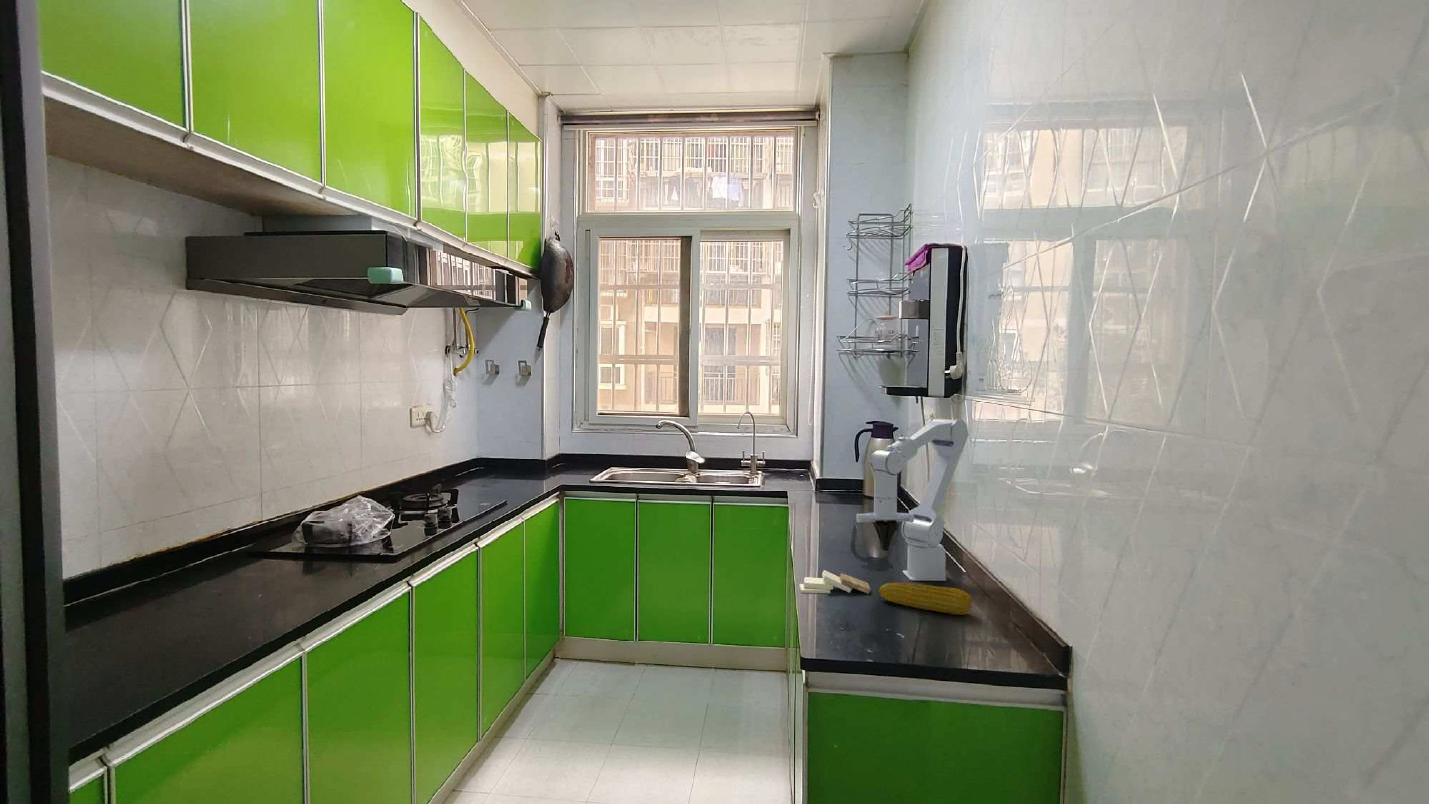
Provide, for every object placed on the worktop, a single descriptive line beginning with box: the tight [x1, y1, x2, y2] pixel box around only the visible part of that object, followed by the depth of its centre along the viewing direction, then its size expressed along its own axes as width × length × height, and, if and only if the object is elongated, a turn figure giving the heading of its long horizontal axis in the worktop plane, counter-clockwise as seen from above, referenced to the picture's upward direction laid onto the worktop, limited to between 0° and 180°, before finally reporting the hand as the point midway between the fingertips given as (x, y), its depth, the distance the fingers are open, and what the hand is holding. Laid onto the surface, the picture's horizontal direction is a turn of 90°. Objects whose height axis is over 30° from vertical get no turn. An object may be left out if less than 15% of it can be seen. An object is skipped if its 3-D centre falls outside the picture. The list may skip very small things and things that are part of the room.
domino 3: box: [821, 569, 853, 594], centre depth 169 cm, size 1×5×7 cm
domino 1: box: [803, 576, 834, 591], centre depth 170 cm, size 1×5×7 cm
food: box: [878, 582, 973, 616], centre depth 155 cm, size 21×6×6 cm, turn 59°
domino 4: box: [839, 572, 871, 595], centre depth 168 cm, size 1×5×7 cm
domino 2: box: [798, 583, 831, 594], centre depth 169 cm, size 1×5×7 cm
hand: (884, 549), depth 172 cm, fingers closed
